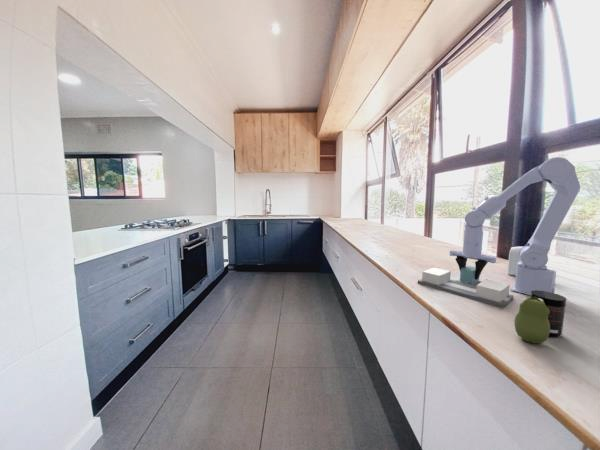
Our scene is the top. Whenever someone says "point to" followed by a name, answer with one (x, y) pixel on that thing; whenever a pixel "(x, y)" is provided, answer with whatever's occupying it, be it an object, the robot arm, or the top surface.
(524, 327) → the pear
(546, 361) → the top surface
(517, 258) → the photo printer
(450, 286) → the rail plate
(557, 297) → the supplement container
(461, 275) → the module block
